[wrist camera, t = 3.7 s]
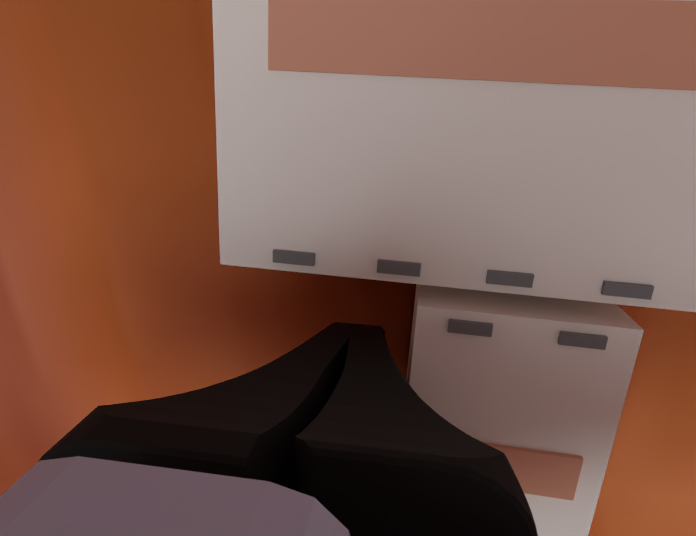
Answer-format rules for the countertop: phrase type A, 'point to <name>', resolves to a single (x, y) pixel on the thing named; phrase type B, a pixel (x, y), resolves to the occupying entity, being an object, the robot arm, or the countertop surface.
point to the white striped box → (462, 144)
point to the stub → (529, 387)
